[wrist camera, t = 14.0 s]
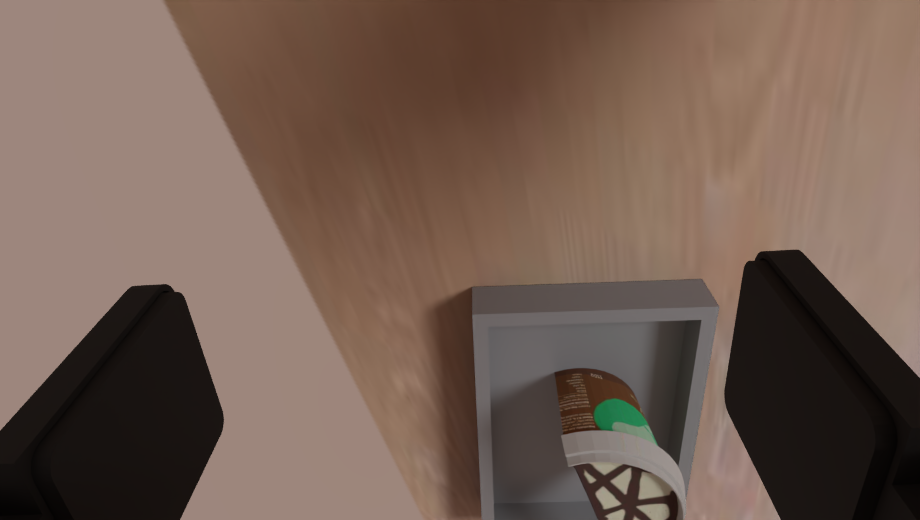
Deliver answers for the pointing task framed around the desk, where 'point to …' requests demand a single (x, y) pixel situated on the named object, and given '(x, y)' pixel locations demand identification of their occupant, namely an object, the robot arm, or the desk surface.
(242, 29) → the desk surface
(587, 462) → the food container
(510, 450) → the parts tray
